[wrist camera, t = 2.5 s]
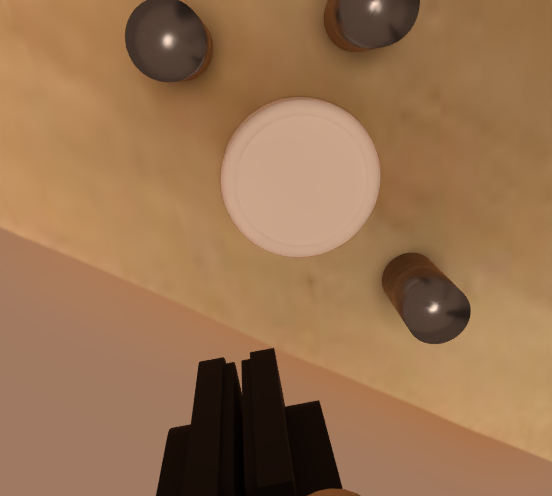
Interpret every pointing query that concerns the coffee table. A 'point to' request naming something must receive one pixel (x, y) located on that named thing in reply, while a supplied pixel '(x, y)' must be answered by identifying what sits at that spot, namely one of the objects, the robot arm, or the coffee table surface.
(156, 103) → the coffee table surface
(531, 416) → the coffee table surface
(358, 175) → the coaster
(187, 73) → the posts
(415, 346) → the coffee table surface
